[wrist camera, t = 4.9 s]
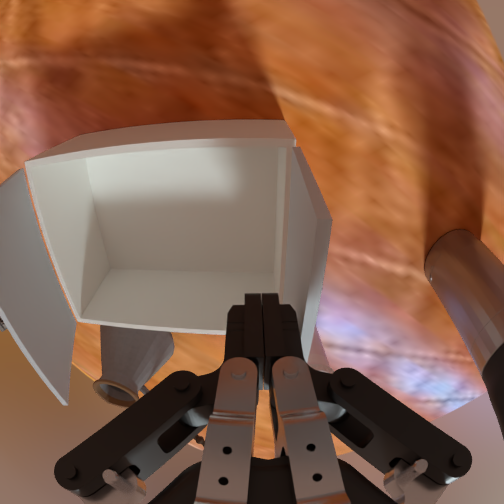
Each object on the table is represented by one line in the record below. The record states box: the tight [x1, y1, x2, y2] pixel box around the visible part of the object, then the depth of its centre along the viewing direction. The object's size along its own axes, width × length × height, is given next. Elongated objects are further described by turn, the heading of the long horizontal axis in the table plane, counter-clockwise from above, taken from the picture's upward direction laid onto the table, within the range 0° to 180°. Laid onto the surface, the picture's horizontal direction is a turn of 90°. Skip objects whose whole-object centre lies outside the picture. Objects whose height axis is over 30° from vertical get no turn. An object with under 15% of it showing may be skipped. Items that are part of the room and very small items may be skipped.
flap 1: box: [0, 168, 77, 405], centre depth 19 cm, size 10×17×1 cm
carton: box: [25, 119, 296, 335], centre depth 28 cm, size 22×18×10 cm
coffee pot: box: [93, 325, 205, 446], centre depth 38 cm, size 21×12×15 cm, turn 50°
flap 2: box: [283, 147, 332, 363], centre depth 18 cm, size 10×17×1 cm
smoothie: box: [307, 325, 334, 374], centre depth 36 cm, size 6×6×14 cm
